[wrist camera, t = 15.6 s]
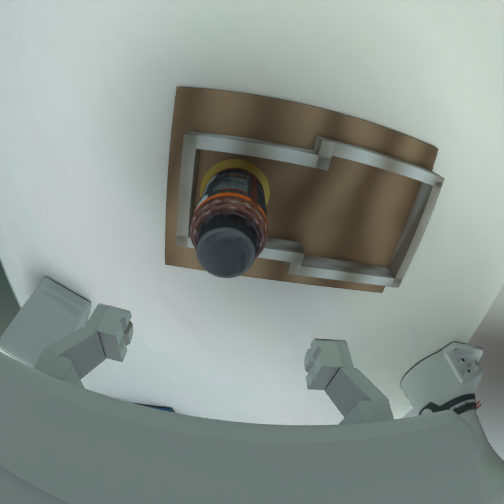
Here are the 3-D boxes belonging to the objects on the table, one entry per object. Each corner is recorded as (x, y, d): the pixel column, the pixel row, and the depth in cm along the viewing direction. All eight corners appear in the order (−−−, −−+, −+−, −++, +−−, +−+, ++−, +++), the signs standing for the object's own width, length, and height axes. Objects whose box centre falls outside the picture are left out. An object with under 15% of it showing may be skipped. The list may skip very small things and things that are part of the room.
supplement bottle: (195, 180, 28) (164, 232, 18) (250, 156, 26) (248, 197, 17) (221, 229, 31) (206, 299, 21) (273, 209, 29) (283, 273, 20)
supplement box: (45, 274, 35) (-6, 343, 22) (92, 301, 37) (49, 380, 25) (43, 309, 39) (4, 373, 26) (85, 333, 41) (52, 404, 29)
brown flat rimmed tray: (436, 148, 26) (451, 154, 23) (381, 290, 36) (389, 304, 33) (178, 86, 23) (169, 86, 21) (166, 261, 34) (160, 276, 31)
